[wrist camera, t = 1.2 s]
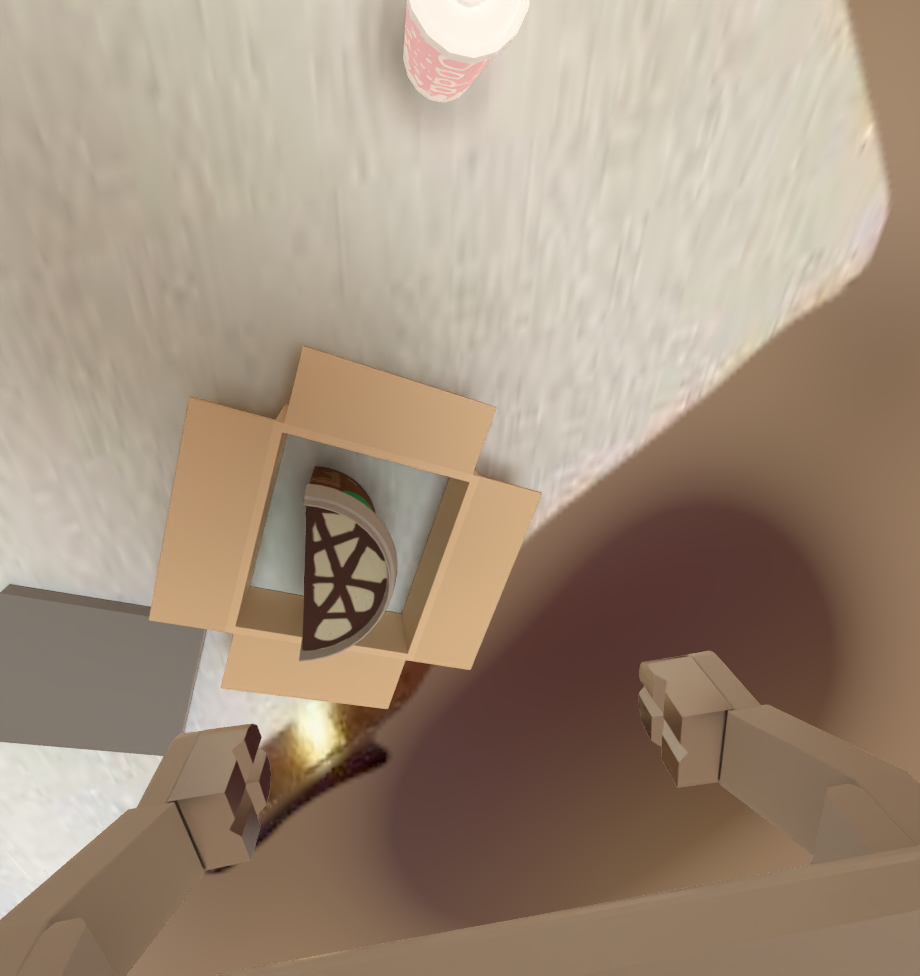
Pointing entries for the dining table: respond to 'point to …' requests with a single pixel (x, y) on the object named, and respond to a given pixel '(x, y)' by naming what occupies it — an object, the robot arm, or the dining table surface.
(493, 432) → the dining table surface
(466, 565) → the carton
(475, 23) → the beverage cup
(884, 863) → the robot arm
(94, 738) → the slate board
